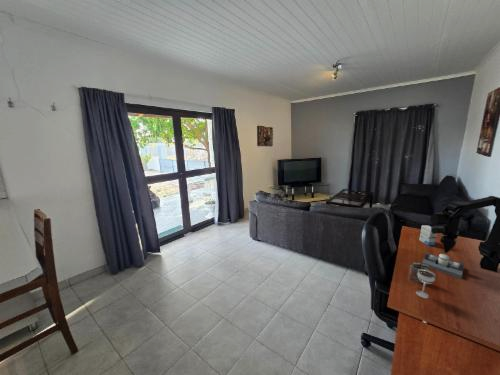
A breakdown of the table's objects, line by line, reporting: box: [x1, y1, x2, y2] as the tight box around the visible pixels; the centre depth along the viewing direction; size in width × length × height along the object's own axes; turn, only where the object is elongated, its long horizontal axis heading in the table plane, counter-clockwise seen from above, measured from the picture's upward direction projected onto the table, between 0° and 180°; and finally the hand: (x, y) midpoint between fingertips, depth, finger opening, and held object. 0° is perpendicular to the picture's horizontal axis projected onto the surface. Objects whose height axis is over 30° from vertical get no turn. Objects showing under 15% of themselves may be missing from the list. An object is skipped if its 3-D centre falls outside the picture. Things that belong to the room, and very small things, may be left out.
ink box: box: [418, 224, 438, 246], centre depth 151 cm, size 9×5×12 cm, turn 179°
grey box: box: [407, 262, 430, 284], centre depth 113 cm, size 8×3×10 cm, turn 62°
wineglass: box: [415, 269, 437, 299], centre depth 103 cm, size 7×7×12 cm
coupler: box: [436, 253, 450, 268], centre depth 125 cm, size 5×5×7 cm
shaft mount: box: [421, 251, 465, 280], centre depth 125 cm, size 17×14×6 cm
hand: (446, 249), depth 123 cm, fingers open, 9 cm apart
